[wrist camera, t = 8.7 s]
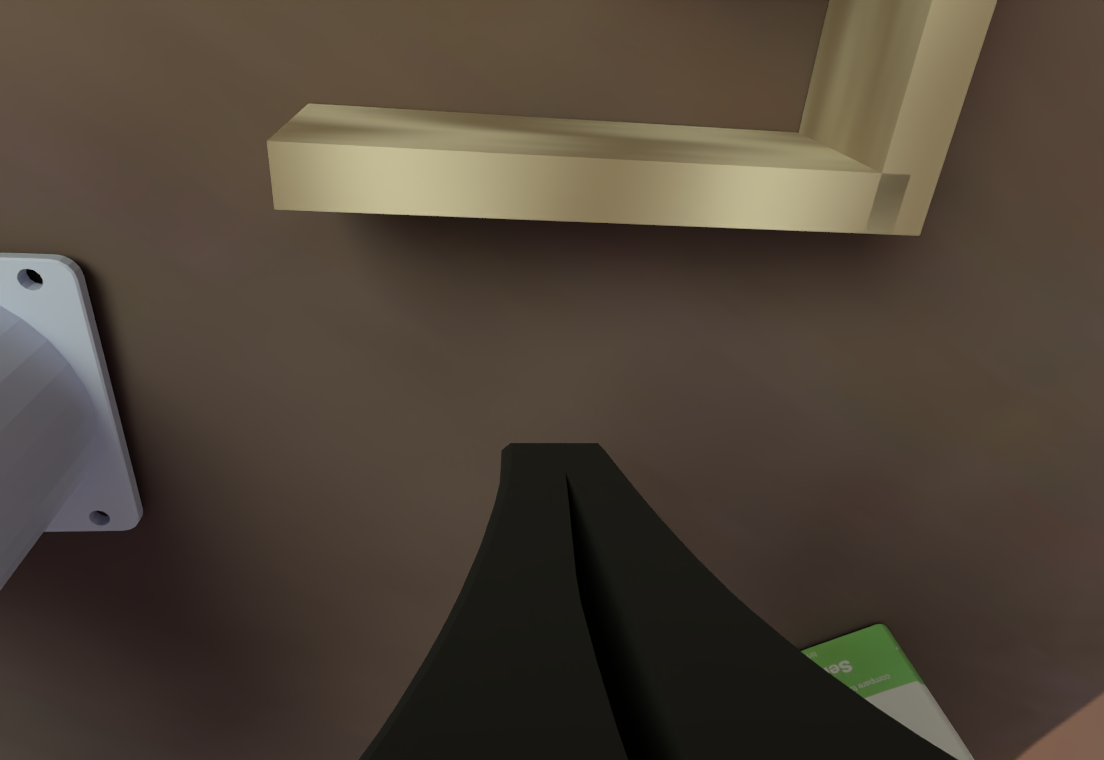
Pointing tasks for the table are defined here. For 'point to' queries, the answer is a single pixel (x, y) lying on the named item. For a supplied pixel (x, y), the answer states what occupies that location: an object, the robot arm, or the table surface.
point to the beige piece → (672, 145)
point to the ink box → (888, 683)
